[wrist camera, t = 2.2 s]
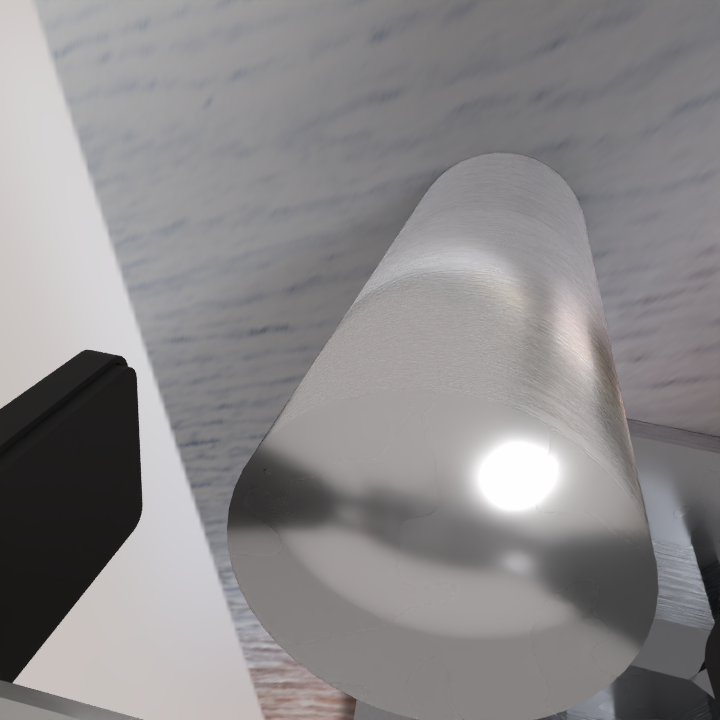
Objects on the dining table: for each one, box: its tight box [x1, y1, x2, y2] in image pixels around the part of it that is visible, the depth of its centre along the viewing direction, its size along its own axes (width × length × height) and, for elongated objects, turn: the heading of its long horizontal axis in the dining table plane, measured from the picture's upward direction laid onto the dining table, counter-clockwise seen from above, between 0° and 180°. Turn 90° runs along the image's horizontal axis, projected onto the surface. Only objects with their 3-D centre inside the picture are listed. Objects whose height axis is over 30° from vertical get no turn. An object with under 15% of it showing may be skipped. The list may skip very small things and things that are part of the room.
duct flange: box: [354, 419, 720, 720], centre depth 24 cm, size 18×18×4 cm
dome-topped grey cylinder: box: [227, 152, 659, 720], centre depth 15 cm, size 7×5×14 cm
